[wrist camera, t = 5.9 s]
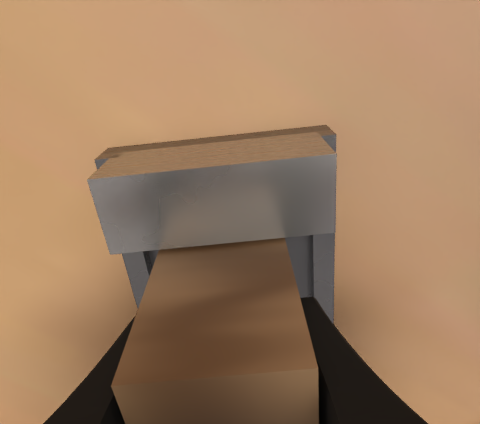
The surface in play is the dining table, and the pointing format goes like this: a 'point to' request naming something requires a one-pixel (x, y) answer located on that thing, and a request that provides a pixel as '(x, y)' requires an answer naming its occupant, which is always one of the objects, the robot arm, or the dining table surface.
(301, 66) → the dining table surface
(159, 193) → the vise
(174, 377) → the block
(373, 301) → the dining table surface
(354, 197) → the dining table surface
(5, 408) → the dining table surface
